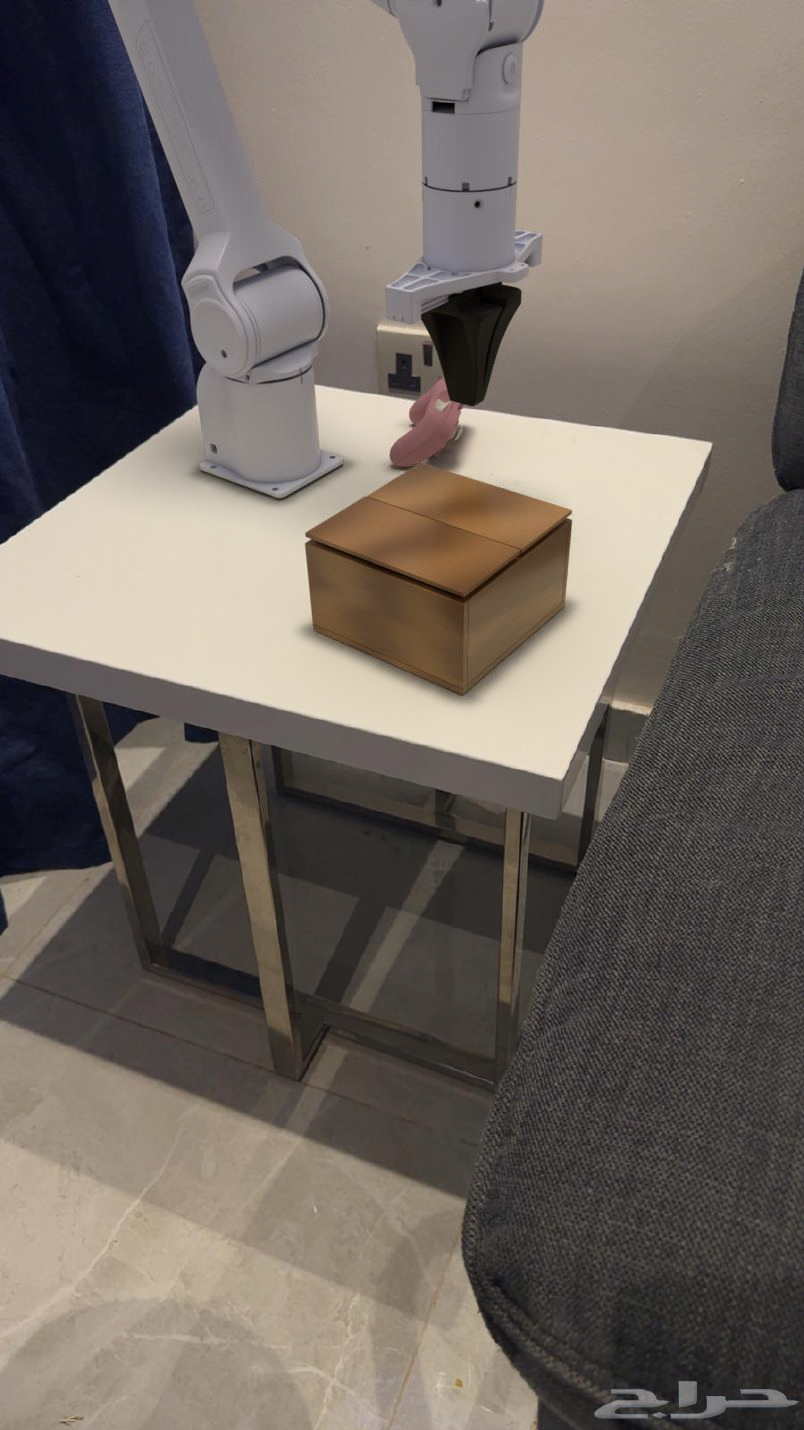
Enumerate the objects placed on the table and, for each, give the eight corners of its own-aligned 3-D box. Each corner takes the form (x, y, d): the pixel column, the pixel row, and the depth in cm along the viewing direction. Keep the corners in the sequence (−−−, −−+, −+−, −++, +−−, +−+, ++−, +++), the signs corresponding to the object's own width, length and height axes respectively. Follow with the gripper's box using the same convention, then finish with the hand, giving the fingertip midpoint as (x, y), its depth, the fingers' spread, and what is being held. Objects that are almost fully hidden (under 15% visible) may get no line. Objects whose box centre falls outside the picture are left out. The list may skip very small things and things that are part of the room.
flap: (366, 500, 67) (366, 495, 67) (420, 466, 71) (420, 462, 70) (521, 553, 61) (521, 549, 61) (571, 514, 65) (572, 509, 65)
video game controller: (431, 489, 86) (470, 420, 82) (383, 463, 85) (419, 392, 81) (451, 439, 94) (487, 373, 89) (406, 415, 93) (441, 347, 88)
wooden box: (312, 629, 68) (303, 532, 63) (422, 553, 75) (420, 461, 71) (462, 695, 62) (463, 594, 57) (565, 606, 69) (573, 509, 65)
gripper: (453, 216, 55) (452, 452, 64) (589, 165, 64) (572, 378, 73) (353, 200, 59) (364, 426, 68) (494, 153, 68) (488, 358, 76)
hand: (466, 400), depth 70 cm, fingers closed
